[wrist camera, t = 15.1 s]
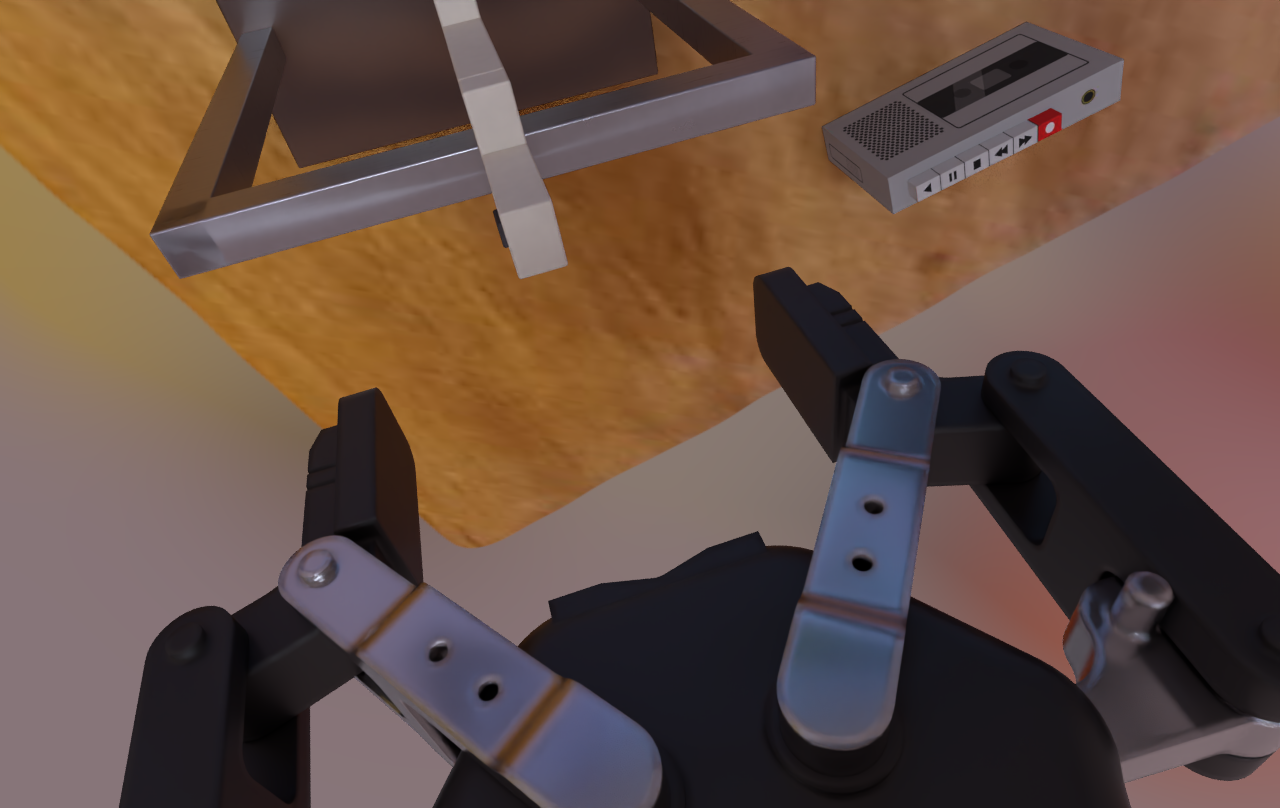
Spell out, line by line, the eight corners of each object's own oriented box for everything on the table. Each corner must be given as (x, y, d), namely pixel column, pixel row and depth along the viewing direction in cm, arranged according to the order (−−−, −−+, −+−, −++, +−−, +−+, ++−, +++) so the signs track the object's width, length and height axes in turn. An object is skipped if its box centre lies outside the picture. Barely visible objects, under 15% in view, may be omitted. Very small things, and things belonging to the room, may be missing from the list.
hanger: (409, -48, 25) (434, 58, 16) (466, -61, 25) (523, 36, 16) (500, 234, 33) (552, 416, 24) (543, 221, 33) (612, 397, 24)
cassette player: (1026, 21, 51) (1136, 64, 44) (1026, 59, 53) (1132, 105, 46) (821, 126, 52) (896, 185, 45) (828, 159, 54) (901, 221, 47)
